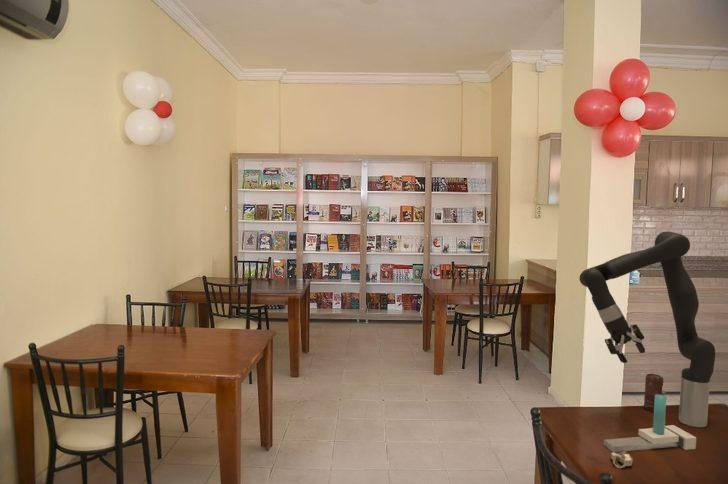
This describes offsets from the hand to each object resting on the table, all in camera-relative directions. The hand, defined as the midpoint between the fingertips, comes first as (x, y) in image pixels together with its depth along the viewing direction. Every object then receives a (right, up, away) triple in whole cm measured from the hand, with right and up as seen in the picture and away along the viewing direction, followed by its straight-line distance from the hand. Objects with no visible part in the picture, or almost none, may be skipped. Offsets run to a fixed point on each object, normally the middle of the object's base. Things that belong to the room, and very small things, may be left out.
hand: (634, 357), depth 191 cm
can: (+18, -26, +20) cm, 37 cm away
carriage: (+2, -26, -11) cm, 28 cm away
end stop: (+11, -28, -9) cm, 31 cm away
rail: (-4, -28, -12) cm, 31 cm away
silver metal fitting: (-17, -29, -24) cm, 42 cm away
